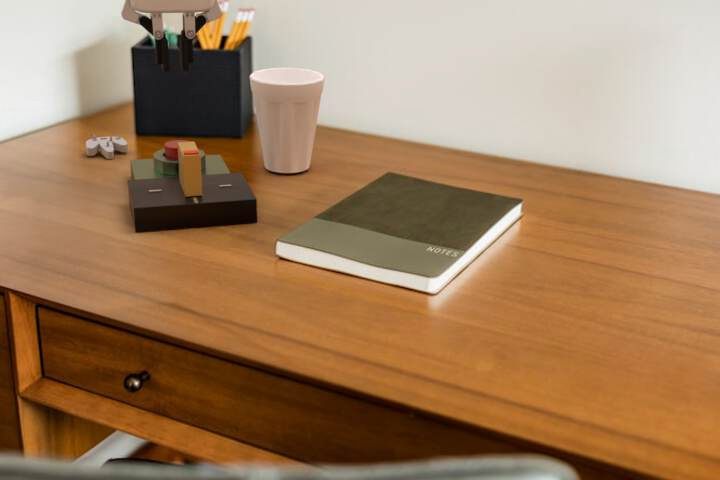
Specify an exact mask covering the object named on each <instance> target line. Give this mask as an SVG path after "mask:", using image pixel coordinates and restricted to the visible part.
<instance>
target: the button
mask: <svg viewBox="0 0 720 480" xmlns="http://www.w3.org/2000/svg"><path fill="white" fill-rule="evenodd" d="M178 142H191V141H190V140H184V139H176V140H169V141H166V142H165V143H164V149H165V157H166V158H169V159H178Z"/></svg>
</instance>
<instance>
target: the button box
mask: <svg viewBox="0 0 720 480" xmlns="http://www.w3.org/2000/svg"><path fill="white" fill-rule="evenodd" d="M198 151H199V153H200V155H201V175H211V174H226V173H231V172H230V170H229V168H228V166H227V164H226V163H225V161H224V159H223V157H222V155H221V154H211V155H210V154H208V155H206V153H205V151H204V150H202V149H200V148H198ZM129 165H130V175H131V180H137V179H151V178H166V177H179V160H178V159H169V158H166V157H165V148H162V149H158V150H157V151H155V152H154V153H153V154H152V158H142V159H141V158H140V159H130V160H129Z"/></svg>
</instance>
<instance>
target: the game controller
mask: <svg viewBox="0 0 720 480" xmlns="http://www.w3.org/2000/svg"><path fill="white" fill-rule="evenodd" d="M128 150H129V147H128V142H127V141H126V139H124V138H123V137H121V136H112V135H111V136H99V137H98V136H96V135H95V134H94V133H92V134H91V138H90V139H87V140H86V141H85V151H86V155H87V156H89V157H90V156H91V157H92V156H95V155H96V154H98V152H99V153H100V154H101V155H102V156H103V157H104V158H105V159H106V160H113V159H114V158H115V154H114V153H115V152H114V151H117V152H120V153H127V152H128Z"/></svg>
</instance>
